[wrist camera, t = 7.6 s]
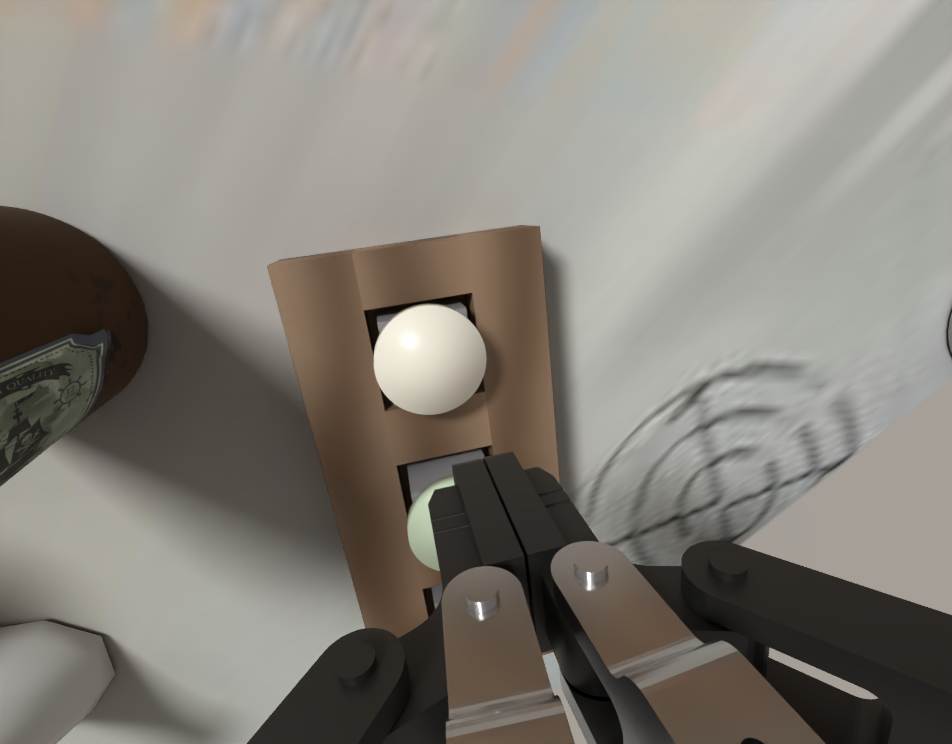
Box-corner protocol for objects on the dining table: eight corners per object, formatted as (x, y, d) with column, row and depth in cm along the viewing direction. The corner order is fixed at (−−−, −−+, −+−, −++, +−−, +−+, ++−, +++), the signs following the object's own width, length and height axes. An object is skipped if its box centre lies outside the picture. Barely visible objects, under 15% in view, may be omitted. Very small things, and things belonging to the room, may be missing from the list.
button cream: (463, 286, 24) (479, 298, 20) (475, 377, 26) (492, 403, 22) (364, 302, 23) (362, 317, 20) (383, 395, 25) (385, 424, 21)
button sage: (487, 436, 25) (506, 472, 22) (497, 513, 27) (516, 558, 23) (395, 456, 25) (399, 496, 21) (411, 534, 26) (417, 583, 23)
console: (520, 225, 24) (539, 226, 21) (555, 610, 33) (572, 646, 30) (280, 259, 22) (267, 265, 20) (384, 657, 31) (385, 700, 28)
